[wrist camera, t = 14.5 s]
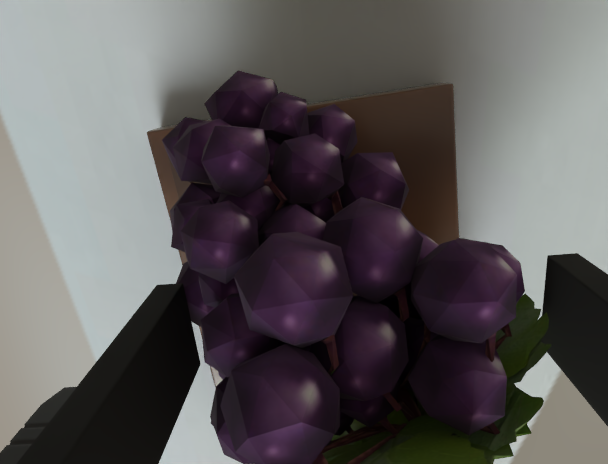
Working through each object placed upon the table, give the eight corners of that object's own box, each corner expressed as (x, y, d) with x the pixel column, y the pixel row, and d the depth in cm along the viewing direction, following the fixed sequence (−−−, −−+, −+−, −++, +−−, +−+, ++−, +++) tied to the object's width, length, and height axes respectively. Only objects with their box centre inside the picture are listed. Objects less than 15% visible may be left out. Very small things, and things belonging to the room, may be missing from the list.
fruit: (393, -66, 11) (770, 456, 10) (280, 137, 20) (466, 410, 19) (-78, 79, 6) (511, 1013, 6) (61, 248, 16) (286, 602, 15)
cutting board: (159, 127, 17) (144, 132, 16) (442, 82, 16) (454, 83, 15) (233, 409, 22) (226, 433, 20) (455, 387, 21) (466, 411, 19)
